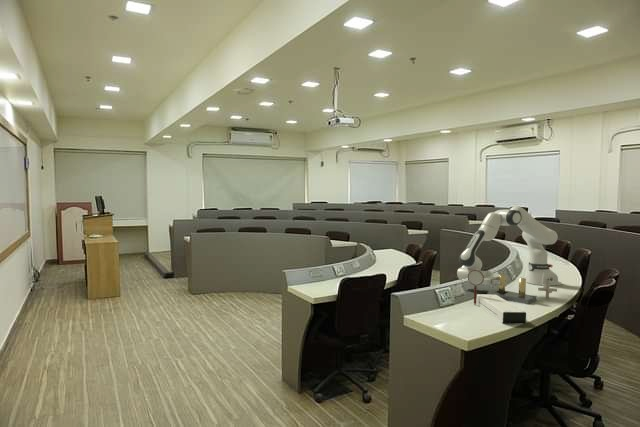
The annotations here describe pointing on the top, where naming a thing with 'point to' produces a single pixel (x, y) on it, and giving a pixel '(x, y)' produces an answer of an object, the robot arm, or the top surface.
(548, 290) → the pipe connector
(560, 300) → the top surface
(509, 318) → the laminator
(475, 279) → the magnifying glass
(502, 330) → the top surface
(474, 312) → the top surface
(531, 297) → the bolt plate
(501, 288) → the brass pin
